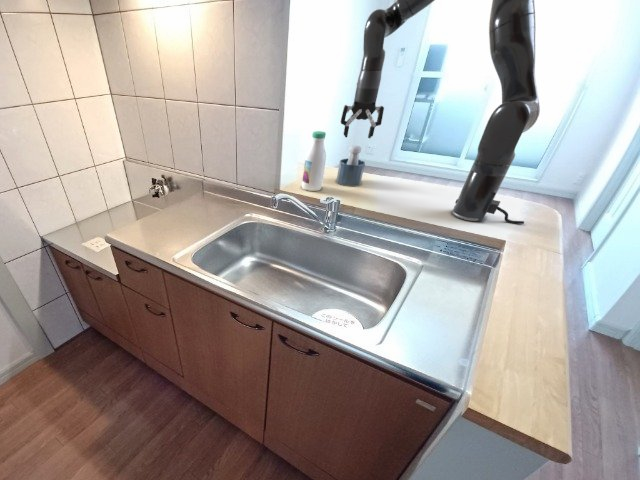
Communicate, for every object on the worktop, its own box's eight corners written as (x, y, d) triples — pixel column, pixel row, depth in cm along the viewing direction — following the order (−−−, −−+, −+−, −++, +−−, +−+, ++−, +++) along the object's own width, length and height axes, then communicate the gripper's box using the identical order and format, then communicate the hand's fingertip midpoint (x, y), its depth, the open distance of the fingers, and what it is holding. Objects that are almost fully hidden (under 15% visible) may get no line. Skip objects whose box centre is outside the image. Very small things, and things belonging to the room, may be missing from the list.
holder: (364, 181, 133) (369, 161, 128) (354, 187, 128) (358, 167, 123) (342, 176, 138) (346, 157, 133) (332, 182, 132) (335, 162, 127)
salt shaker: (357, 182, 130) (365, 148, 122) (343, 182, 130) (350, 148, 122) (354, 178, 135) (361, 144, 126) (340, 177, 135) (346, 144, 127)
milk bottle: (321, 185, 130) (330, 130, 117) (320, 192, 124) (330, 135, 111) (302, 184, 131) (309, 129, 118) (300, 190, 125) (307, 133, 113)
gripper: (347, 87, 110) (338, 139, 120) (391, 87, 108) (378, 140, 118) (346, 85, 116) (337, 134, 126) (387, 85, 114) (375, 136, 124)
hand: (357, 137), depth 122 cm, fingers open, 8 cm apart
